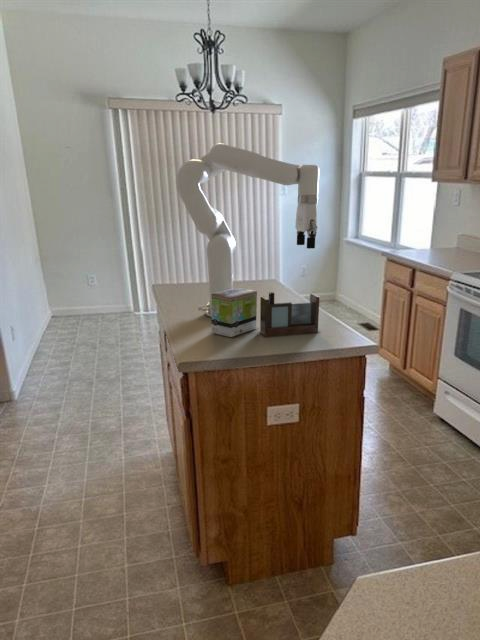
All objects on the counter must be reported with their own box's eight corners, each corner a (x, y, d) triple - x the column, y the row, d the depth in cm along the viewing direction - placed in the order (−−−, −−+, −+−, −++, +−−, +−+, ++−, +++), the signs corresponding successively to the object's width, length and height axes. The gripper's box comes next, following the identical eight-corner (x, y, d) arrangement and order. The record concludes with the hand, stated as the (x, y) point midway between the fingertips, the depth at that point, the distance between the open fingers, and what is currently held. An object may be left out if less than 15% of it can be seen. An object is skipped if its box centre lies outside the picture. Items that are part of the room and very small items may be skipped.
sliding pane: (268, 331, 192) (269, 293, 187) (267, 330, 194) (267, 292, 188) (291, 329, 195) (292, 292, 190) (289, 328, 196) (290, 291, 191)
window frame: (265, 336, 192) (265, 299, 187) (260, 332, 197) (260, 296, 192) (317, 332, 198) (319, 296, 193) (311, 328, 204) (313, 293, 199)
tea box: (233, 338, 189) (232, 297, 184) (211, 333, 194) (209, 293, 188) (257, 328, 201) (257, 289, 196) (236, 324, 206) (235, 286, 200)
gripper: (289, 198, 207) (288, 243, 213) (307, 201, 192) (305, 250, 198) (307, 198, 209) (305, 243, 216) (326, 201, 195) (323, 249, 201)
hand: (305, 246), depth 207 cm, fingers open, 9 cm apart
